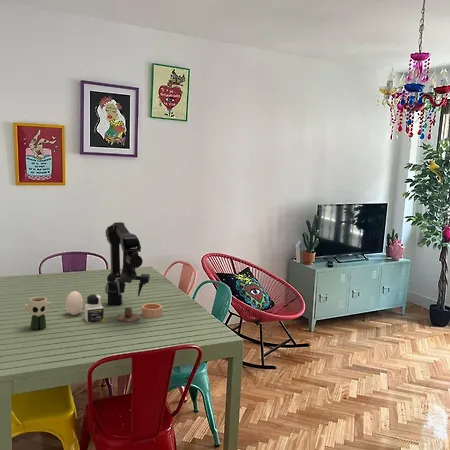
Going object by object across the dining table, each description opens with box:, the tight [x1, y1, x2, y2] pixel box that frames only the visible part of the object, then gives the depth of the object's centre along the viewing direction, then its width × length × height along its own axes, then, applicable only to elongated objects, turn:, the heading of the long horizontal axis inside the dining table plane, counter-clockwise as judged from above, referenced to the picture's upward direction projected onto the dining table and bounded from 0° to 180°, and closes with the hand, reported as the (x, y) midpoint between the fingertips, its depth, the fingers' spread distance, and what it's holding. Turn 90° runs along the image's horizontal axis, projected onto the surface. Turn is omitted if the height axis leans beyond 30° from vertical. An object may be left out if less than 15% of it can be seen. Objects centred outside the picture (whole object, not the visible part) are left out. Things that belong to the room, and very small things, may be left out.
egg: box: [65, 290, 84, 316], centre depth 215 cm, size 8×8×11 cm
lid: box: [116, 306, 140, 324], centre depth 212 cm, size 10×10×5 cm
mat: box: [113, 313, 143, 325], centre depth 212 cm, size 11×11×1 cm
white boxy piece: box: [84, 294, 105, 324], centre depth 208 cm, size 7×7×12 cm
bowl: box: [140, 302, 163, 319], centre depth 219 cm, size 10×10×4 cm
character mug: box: [23, 296, 53, 330], centre depth 197 cm, size 11×7×13 cm, turn 119°
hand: (128, 295), depth 211 cm, fingers open, 9 cm apart
